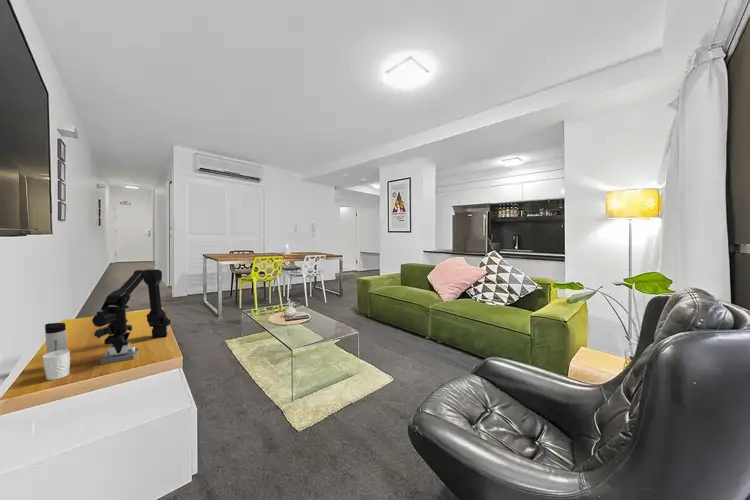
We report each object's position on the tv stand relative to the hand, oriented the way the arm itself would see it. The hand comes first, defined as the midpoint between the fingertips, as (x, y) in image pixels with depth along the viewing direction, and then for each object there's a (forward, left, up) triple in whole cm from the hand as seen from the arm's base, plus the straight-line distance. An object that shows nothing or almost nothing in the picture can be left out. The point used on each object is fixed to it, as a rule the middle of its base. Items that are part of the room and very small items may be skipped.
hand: (120, 351), depth 142 cm
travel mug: (+22, 0, -4) cm, 22 cm away
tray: (0, 0, -3) cm, 3 cm away
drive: (0, 0, -1) cm, 1 cm away
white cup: (+18, +11, -4) cm, 21 cm away
